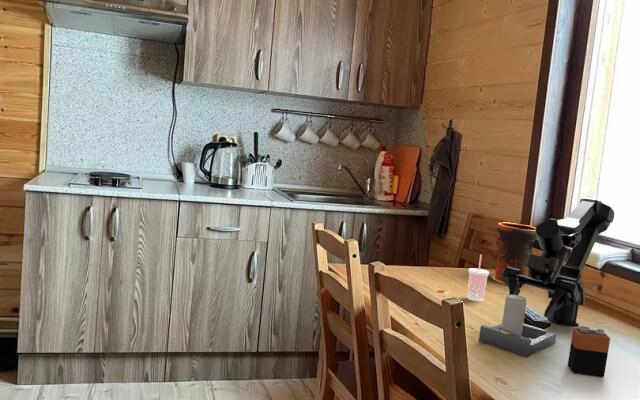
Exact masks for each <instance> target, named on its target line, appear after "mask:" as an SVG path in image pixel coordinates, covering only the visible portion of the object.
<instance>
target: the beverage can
mask: <svg viewBox="0 0 640 400" xmlns="http://www.w3.org/2000/svg"><path fill="white" fill-rule="evenodd" d="M503 307H504V308H503V314H502V315H503V316H502V322H501V324H502V328H501V330H507V331H509V332H511V333H512V334H515V335H518V336H521V337H523V336H522V330H523V323H524V324H525V322H524V321H525V314H526V309H527V297H525V296H523V295H512V294H507V295H506V297H505V302H504V306H503Z"/></svg>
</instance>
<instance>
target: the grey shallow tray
mask: <svg viewBox="0 0 640 400" xmlns="http://www.w3.org/2000/svg"><path fill="white" fill-rule="evenodd" d="M501 328H502V323H500V324H499V323H498V324H497V325H494V326H492V327H491V326H489V325H485V324H481V325H480V328H479V329H480V330H479V334H478V336H479V337H478V342H479V343H481V342H482V343H481V344H484V345H486V346H489V347H494V348H497V349H498V350H502V351H505V352H508V353H510V354H514V355H517V356H520V357H523V358H528V357H530V356H532V355H534V354H536V353H538V352H541V351H542V350H543V349H546V348H548V347H549V346H552V345H553V344H555V343H556V340H557V332H554V331H550V330H547V329H543V328H540V327H537V326H534V325H530V324H526V323H525V322H524V323H523V330H522V335H523V336H522V337H521V336H518V335H515V334H512V333H511V332H509V331H507V330H501ZM524 336H527V338H526V337H524ZM528 337H529V338H528Z"/></svg>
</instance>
